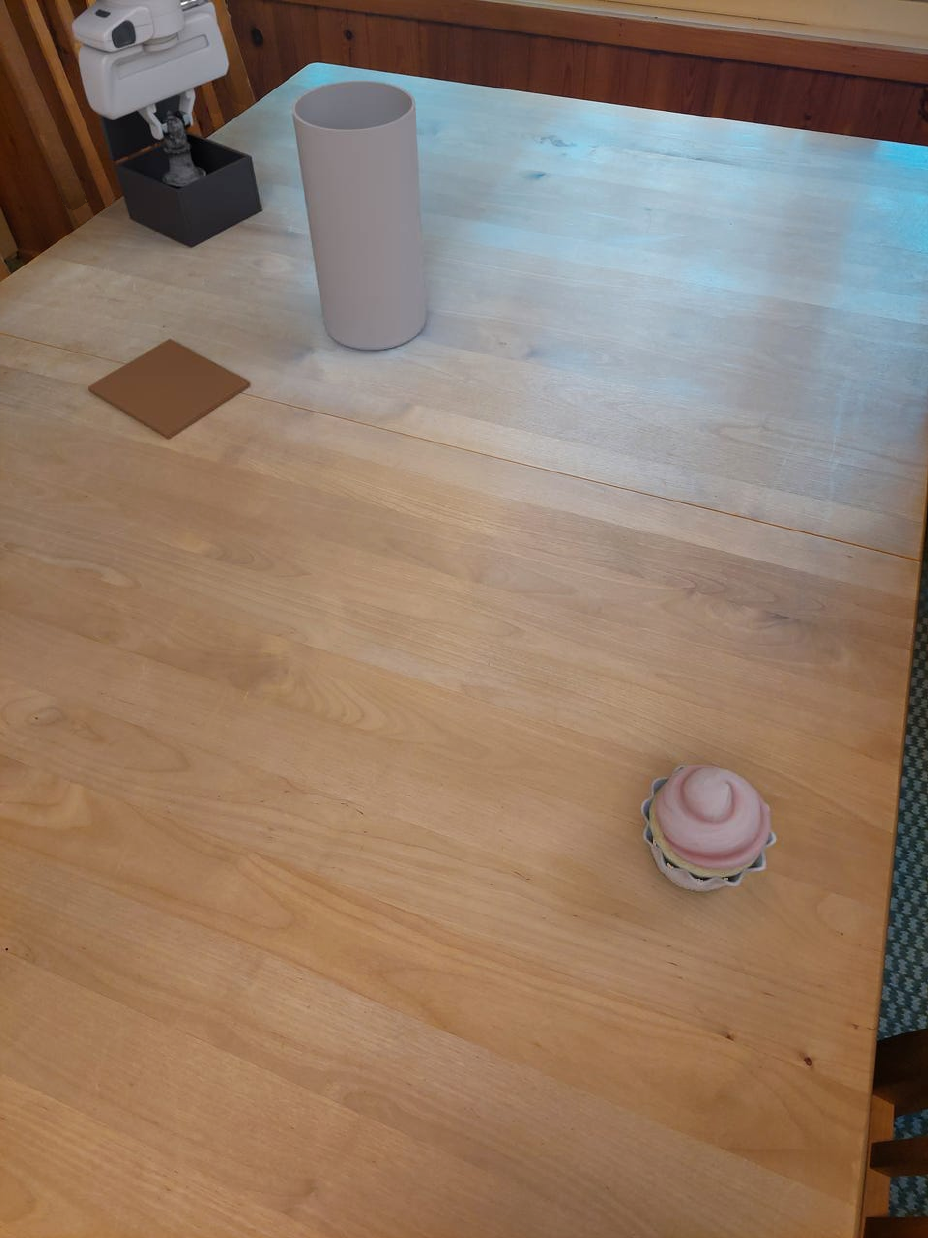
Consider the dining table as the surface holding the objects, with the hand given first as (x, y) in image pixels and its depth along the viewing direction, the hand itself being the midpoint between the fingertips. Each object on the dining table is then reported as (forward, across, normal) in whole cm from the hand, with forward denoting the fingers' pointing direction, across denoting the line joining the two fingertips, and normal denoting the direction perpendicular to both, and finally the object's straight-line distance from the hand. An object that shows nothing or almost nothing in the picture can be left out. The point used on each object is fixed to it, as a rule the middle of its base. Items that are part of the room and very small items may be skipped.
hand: (173, 131), depth 120 cm
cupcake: (+11, +42, +104) cm, 113 cm away
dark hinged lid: (-4, 0, -5) cm, 7 cm away
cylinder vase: (+11, +5, +39) cm, 41 cm away
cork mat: (+12, +29, +29) cm, 42 cm away
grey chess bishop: (+10, 0, 0) cm, 10 cm away
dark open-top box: (+11, 0, 0) cm, 11 cm away
